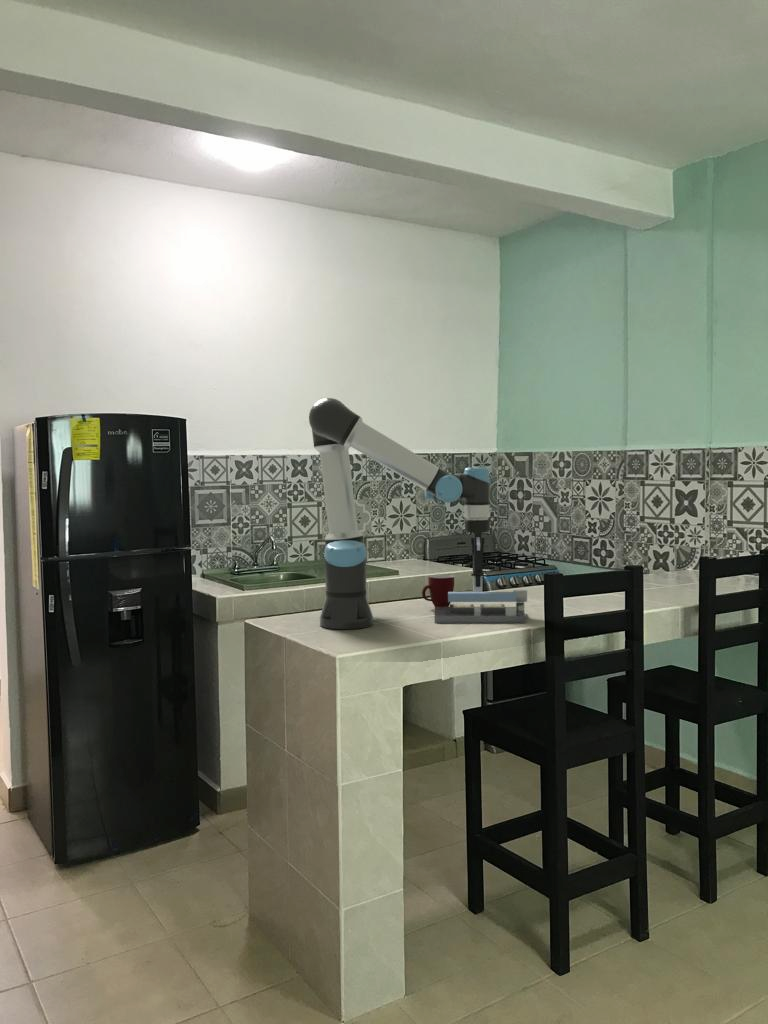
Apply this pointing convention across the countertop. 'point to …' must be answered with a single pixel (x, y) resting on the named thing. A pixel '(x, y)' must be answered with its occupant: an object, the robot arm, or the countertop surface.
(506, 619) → the server tray
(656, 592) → the countertop surface
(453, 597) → the bar
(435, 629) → the countertop surface
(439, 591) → the mug
